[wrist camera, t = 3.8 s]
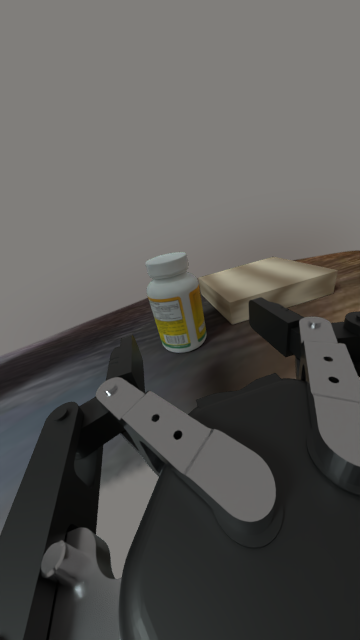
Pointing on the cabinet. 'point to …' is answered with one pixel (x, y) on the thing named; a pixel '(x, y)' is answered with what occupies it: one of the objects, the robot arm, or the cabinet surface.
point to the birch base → (265, 285)
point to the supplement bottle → (176, 302)
